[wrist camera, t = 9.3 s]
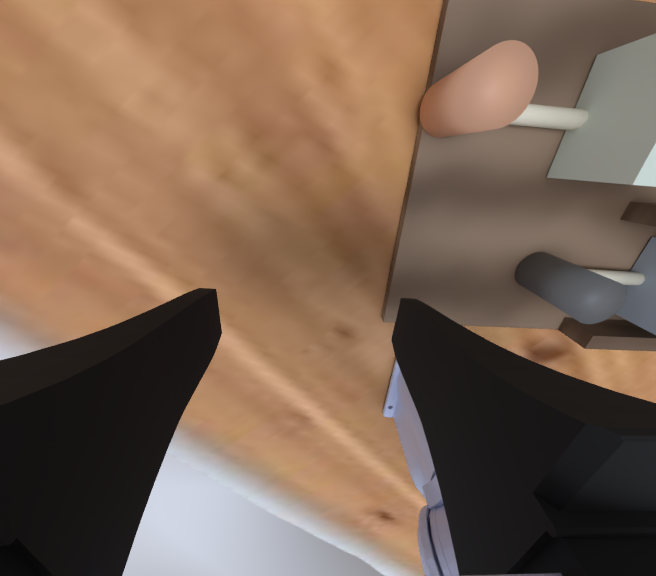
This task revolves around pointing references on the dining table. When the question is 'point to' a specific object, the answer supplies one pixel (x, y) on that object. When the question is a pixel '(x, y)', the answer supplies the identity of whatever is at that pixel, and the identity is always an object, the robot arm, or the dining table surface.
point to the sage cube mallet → (559, 109)
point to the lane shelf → (519, 180)
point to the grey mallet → (595, 288)
